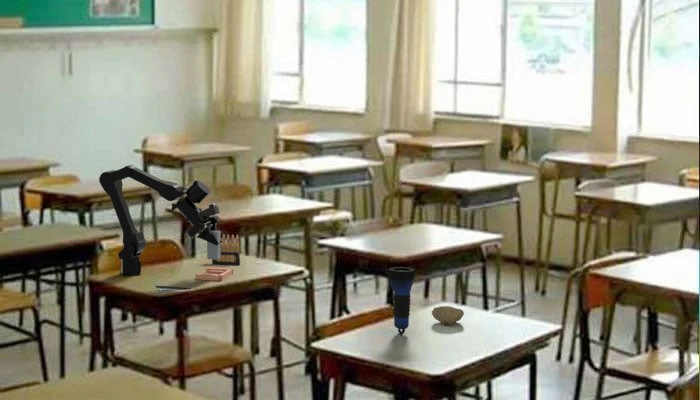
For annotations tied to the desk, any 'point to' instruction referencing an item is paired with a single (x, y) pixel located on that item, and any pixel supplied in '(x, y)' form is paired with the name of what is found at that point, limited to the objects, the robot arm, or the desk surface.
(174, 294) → the desk surface
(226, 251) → the ammunition clip
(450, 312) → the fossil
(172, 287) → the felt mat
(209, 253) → the grey rectangular block
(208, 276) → the slotted box
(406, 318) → the flashlight
